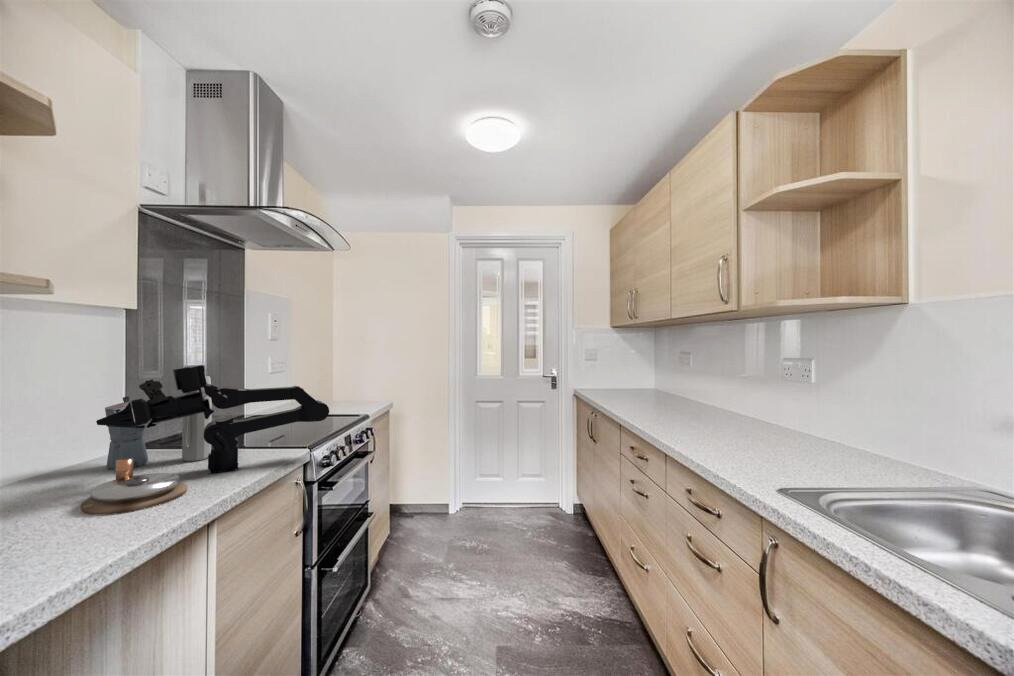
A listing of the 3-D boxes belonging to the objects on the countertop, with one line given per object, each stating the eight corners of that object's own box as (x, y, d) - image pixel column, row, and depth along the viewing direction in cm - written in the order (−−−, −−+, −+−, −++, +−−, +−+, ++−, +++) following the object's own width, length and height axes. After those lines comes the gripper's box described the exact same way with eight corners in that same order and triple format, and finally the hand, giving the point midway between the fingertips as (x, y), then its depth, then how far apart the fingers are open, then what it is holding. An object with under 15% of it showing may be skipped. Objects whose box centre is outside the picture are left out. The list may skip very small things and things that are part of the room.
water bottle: (190, 456, 131) (191, 376, 131) (217, 455, 132) (218, 376, 132) (170, 464, 122) (171, 378, 122) (199, 463, 123) (200, 378, 123)
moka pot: (94, 474, 112) (95, 400, 112) (115, 460, 126) (116, 393, 126) (140, 470, 116) (141, 398, 117) (155, 456, 130) (156, 392, 130)
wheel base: (190, 480, 108) (190, 475, 108) (181, 503, 93) (182, 497, 93) (94, 493, 98) (95, 488, 98) (67, 521, 83) (67, 515, 83)
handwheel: (192, 488, 98) (192, 459, 99) (108, 510, 85) (109, 477, 85) (159, 477, 106) (159, 451, 106) (77, 497, 92) (78, 466, 93)
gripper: (178, 381, 120) (104, 395, 111) (170, 372, 105) (84, 387, 96) (186, 419, 119) (112, 436, 110) (179, 415, 104) (93, 435, 95)
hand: (101, 423), depth 103 cm, fingers open, 9 cm apart
